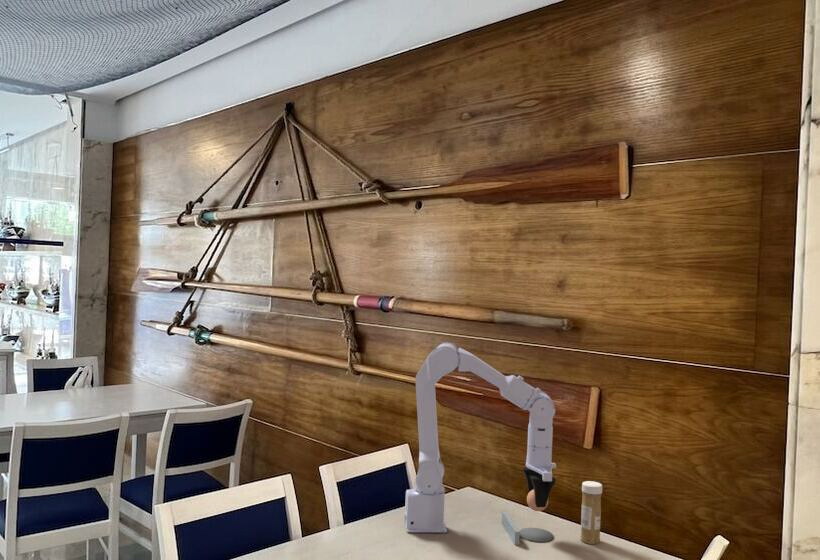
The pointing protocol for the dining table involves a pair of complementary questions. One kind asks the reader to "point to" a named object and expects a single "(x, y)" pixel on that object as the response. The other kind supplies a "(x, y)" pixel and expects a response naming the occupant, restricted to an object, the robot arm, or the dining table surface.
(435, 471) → the robot arm
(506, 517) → the acrylic wall
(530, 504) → the terracotta ball
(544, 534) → the pad
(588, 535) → the spice jar
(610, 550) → the dining table surface
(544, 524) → the dining table surface
